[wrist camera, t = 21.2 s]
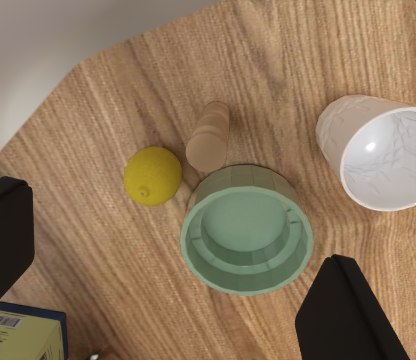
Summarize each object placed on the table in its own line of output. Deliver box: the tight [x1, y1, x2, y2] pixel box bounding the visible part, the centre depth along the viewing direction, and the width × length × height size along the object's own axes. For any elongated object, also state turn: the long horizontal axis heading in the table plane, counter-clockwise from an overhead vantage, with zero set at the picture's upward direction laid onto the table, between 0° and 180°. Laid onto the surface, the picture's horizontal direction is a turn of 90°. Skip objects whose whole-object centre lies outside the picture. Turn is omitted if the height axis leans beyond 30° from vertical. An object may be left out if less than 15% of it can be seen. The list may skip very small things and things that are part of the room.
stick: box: [186, 101, 230, 172], centre depth 25 cm, size 3×3×12 cm
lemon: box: [123, 147, 182, 207], centre depth 30 cm, size 6×6×8 cm
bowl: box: [180, 165, 314, 296], centre depth 33 cm, size 13×13×6 cm
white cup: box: [315, 94, 416, 211], centre depth 26 cm, size 8×8×10 cm
